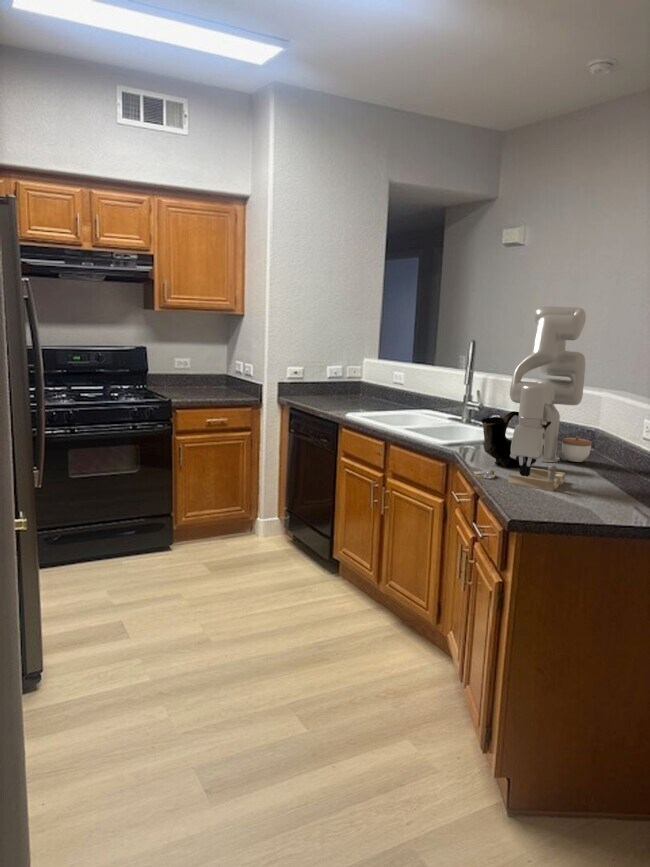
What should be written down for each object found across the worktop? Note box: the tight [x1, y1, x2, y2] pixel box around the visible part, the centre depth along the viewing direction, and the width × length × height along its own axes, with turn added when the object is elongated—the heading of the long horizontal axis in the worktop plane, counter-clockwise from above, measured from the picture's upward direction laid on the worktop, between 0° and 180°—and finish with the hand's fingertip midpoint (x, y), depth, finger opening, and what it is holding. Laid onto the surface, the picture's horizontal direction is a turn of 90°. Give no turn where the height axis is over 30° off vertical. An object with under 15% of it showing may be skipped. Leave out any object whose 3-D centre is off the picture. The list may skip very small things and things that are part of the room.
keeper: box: [507, 464, 566, 492], centre depth 212 cm, size 18×14×8 cm
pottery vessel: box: [480, 411, 551, 468], centre depth 236 cm, size 25×11×20 cm, turn 91°
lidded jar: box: [561, 435, 593, 463], centre depth 250 cm, size 11×11×9 cm
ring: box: [473, 469, 496, 479], centre depth 218 cm, size 7×3×8 cm
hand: (524, 476), depth 215 cm, fingers closed
